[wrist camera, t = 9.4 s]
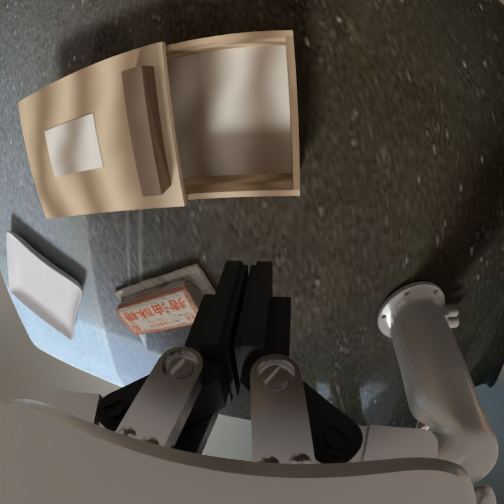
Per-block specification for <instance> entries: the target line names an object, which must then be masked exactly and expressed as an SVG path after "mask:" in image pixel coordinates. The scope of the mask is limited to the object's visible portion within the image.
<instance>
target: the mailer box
mask: <svg viewBox="0 0 504 504" xmlns="http://www.w3.org/2000/svg"><path fill="white" fill-rule="evenodd" d="M166 57H167V67H168V77H169V86H170V94H171V103H172V110H173V118H174V125H175V133H176V139H177V146H178V153H179V159H180V165H181V172H182V178H183V183H184V189H185V195H186V200H188V199H205V198H226V197H253V196H300V162H299V125H298V101H297V82H296V66H295V52H294V40H293V30H277V31H257V32H245V33H235V34H227V35H219V36H212V37H206V38H200V39H195V40H189V41H184V42H180V43H175V44H171V45H167V46H166Z"/></svg>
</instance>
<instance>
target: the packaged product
mask: <svg viewBox="0 0 504 504" xmlns="http://www.w3.org/2000/svg"><path fill="white" fill-rule="evenodd" d="M114 293H115V294H116V296H117V297H118V298H119V300H120V301H121V302H122V303H120V304H119V306H118V308H117V309H116V311H117V314H118V316H119V318H120V319H121V320H122V322H123V323H124V324H125V325H126V326H127V327H128V329H129V330H130V331H131V332H132V333H133V334H134V335H138V334H144V333H149V332H155V331H161V330H166V329H171V328H176V327H181V326H186V325H191V324H193V322H194V319H195V317H196V314H197V311H198V309H199V306H200V303H201V301H202V298H203V296H204V295H205V294H215V290H214V288H213V287H212V285H211V283H210V282H209V280H208V279H207V277H206V275H205V274H204V272H203V271H202V269H201V268H200V267H199V266H198V264H194V265H190V266H187V267H184V268H181V269H179V270H176V271H173V272H171V273H167V274H164V275H161V276H158V277H154V278H151V279H147V280H144V281H141V282H139V283H137V284H134V285H131V286H128V287H125V288H122V289H120V290H117V291H115V292H114Z"/></svg>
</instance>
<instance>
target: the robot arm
mask: <svg viewBox="0 0 504 504" xmlns="http://www.w3.org/2000/svg"><path fill="white" fill-rule="evenodd" d="M457 315H458V309H457V308H455V309H450V310H448V309H447V308H446V307H445V296H444V294H443V292H442V290H441V289H440V287H439V286H438V285H436V284H434V283H432V282H427V281H421V282H415V283H411V284H408V285H406V286H404V287H402V288H400V289H398V290H397V291H395V292H394V293H393V294H391V295H390V296H389V297H388V298H387V299H386V300H385V302H384V303H383V304H382V306H381V308H380V310H379V312H378V317H377V321H378V325H379V329H380V330H381V332H382V333H383V334H384V335H386V336H388V337H391V338H392V341H393V345H394V348H395V352H396V355H397V359H398V363H399V367H400V371H401V375H402V379H403V383H404V387H405V391H406V396H407V400H408V405H409V408H410V411H411V413H412V415H413V416H414V417H415V418H416V419H417V420H418V421H420V422H421V423H423V424H425V425H427V426H430V427H432V428H433V430H434V431H433V432H432V433H431V432H430V431H428V430H425V429H411V428H397V427H386V426H376V425H370V426H369V427H365V426H358V425H357V424H356V423H355V422H354V421H353V420H351V419H350V418H349V417H347V416H346V415H345V414H343V413H342V412H341V411H340V410H338V409H337V408H336V407H335V406H333V405H332V404H331V403H330V402H328V401H327V400H326V399H325V398H323V397H322V396H321V395H320V394H318V393H317V392H316V391H315V390H314V389H312V388H311V387H310V386H309V385H307V384H306V383H305V382H304V381H303V380H302V374H301V370H300V367H299V365H298V364H297V363H296V362H295V360H293V359H292V358H290V357H289V345H290V318H291V297H273V292H272V262H267V261H257V264H256V265H251V268H250V273H249V277H248V266H247V265H243V264H242V261H228V260H227V261H226V264H225V267H224V269H223V272H222V275H221V278H220V281H219V284H218V287H217V290H216V292H215V294H205V295H204V296H203V298H202V301H201V303H200V306H199V309H198V311H197V314H196V317H195V319H194V322H193V324H192V327H191V330H190V332H189V335H188V338H187V340H186V343H185V346H181V347H175V348H172V349H169V350H168V351H166V352H165V353H163V355H162V356H161V357H160V358H159V360H158V361H157V363H156V365H155V366H154V368H153V370H152V371H151V373H150V374H149V375H147V376H145V377H143V378H141V379H139V380H137V381H135V382H133V383H131V384H129V385H127V386H125V387H123V388H120V389H118V390H116V391H114V392H112V393H110V394H108V395H106V396H105V397H102V396H101V395H100V394H91V393H80V392H72V391H63V390H57V391H54V392H52V393H51V394H50V395H49V396H48V397H47V400H46V402H45V403H42V402H39V401H35V400H28V399H14V400H9V401H6V402H4V403H2V404H1V405H0V504H497V503H496V498H495V494H494V492H493V490H492V488H490V487H489V486H487V485H479V486H475V487H473V484H474V483H476V482H478V481H479V480H481V479H482V478H483V477H484V476H485V475H487V474H488V473H489V472H490V470H491V469H492V468H493V466H494V465H495V463H496V460H497V457H498V443H497V439H496V437H495V434H494V431H493V429H492V427H491V425H490V423H489V420H488V419H487V417H486V414H485V412H484V410H483V407H482V405H481V403H480V401H479V398H478V395H477V392H476V390H475V387H474V385H473V382H472V379H471V377H470V374H469V371H468V369H467V366H466V364H465V361H464V359H463V356H462V354H461V351H460V349H459V346H458V344H457V342H456V339H455V337H454V335H453V333H452V330H451V328H455V327H458V325H459V319H458V317H454V316H457ZM448 317H449V318H448ZM240 386H241V392H242V397H243V403H244V408H245V409H246V410H247V411H248V412H249V413H250V415H251V427H252V458H253V459H252V460H253V462H252V461H243V460H234V459H226V458H219V457H213V456H207V455H201V454H202V452H203V449H204V447H205V445H206V443H207V439H208V438H209V435H210V433H211V431H212V428H213V426H214V423H215V421H216V419H217V416H218V412H219V410H220V409H222V408H223V407H225V406H226V402H230V403H232V398H233V395H238V394H239V389H240Z"/></svg>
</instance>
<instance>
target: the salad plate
mask: <svg viewBox="0 0 504 504" xmlns="http://www.w3.org/2000/svg"><path fill="white" fill-rule="evenodd" d="M7 264H8V279H9V288H10V291H11V293H12V294H13V295H14V296H15V297H16V298H18V299H19V300H20V301H21V302H22V303H23V304H24V305H25V306H27V307H28V308H29V309H30V310H31V311H33V312H34V313H35V314H36V315H38V316H39V317H40V318H41V319H43V320H44V321H45V322H46V323H48V324H49V325H50V326H52V327H53V328H55V329H56V330H57V331H59V332H60V333H62V334H63V335H65V336H66V337H67V338H69V339H70V340H72V339H73V336H74V326H75V320H76V315H77V311H78V308H79V305H80V302H81V299H82V294H83V289H82V286H81V285H80V283H79V282H78V281H77V280H75V279H74V278H73V277H71V276H70V275H68V274H67V273H65V272H64V271H62V270H61V269H59V268H58V267H57V266H55V265H54V264H53V263H52V262H50V261H49V260H48V259H46V258H45V257H44V256H42V255H41V254H40V253H39V252H37V251H36V250H35V249H34V248H33V247H32V246H30V245H29V244H28V243H27V242H26V241H25V240H24V239H22V238H21V237H20V236H19V235H17V234H16V233H14V232H10V231H8V232H7Z"/></svg>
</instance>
